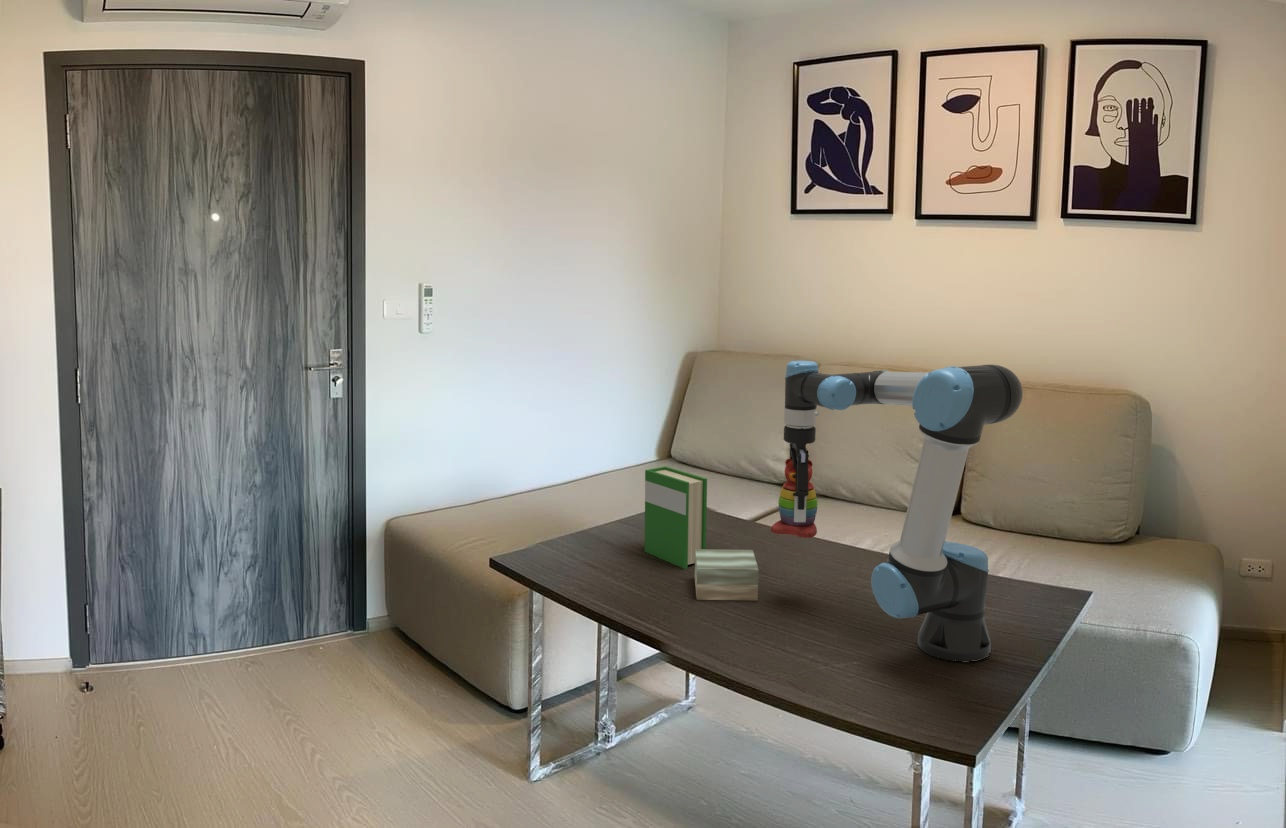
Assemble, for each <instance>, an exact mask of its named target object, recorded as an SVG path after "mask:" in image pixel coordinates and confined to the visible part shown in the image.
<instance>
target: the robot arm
mask: <svg viewBox="0 0 1286 828" xmlns="http://www.w3.org/2000/svg"><path fill="white" fill-rule="evenodd" d="M819 371H820V370H819V364H818V363H817V362H815V361H811V360H792V361H789V362H788V363H787V364H786V369H785V377H784V380H785V383H784V385H785V386H784V387H785V388H784V407H783V408H784V409H783V410H784V411H783V412H784V413H783V424H785V426H784V427H783V440H784V442H786V443H788V444H789V458H788V459H792V460H793V468H794V469H795V473H796V478H795V483H796V493H793V496H795V502H794V522H806V499H807V496H808V494H809V492H808V460H809V458H810V455H809V450H807V447H806V446H807V445H808V444H809V445H810V444H814V442H815V441H816V427H815V425H816V424H817V423H816V422H817V416H819V411H817V407H818V406H819V407H822V408H826V409H828V410H832V411H833V410H836V411H845V410H847V409H848V408H850V407H851V406H859V405H893V406H909V407H910V406H911V407H912V410H914V413H913V414H914V417H915V419H916V421H917V423H919V425H918V430H919V432H920V434H921V435H922V436H923V439H924V440H923V442H922V446H921V451H920V455H919V458H918V464H917V467H916V471H915V475H914V480H913V484H912V488H911V493H910V497H909V501H908V505H907V510H906V513H905V516H904V518H905V519H904V521H903V525H902V530H901V534H900V537H899V538H900V539H899V540H898V541H896V542H894V543H893V544H891V546H890V548H889V552H888V556H887V559H886V561H885V562H881V563H880V564H878V565H877V566H875V567H874V568H873V570H872V573H871V577H870V586H871V589H872V594H873V595H874V597H875V601H876V602H877V604H878V605H879V607H880V608H881V609H882V611H884V612H885V613H886V614H887V615H888V616H890V617H892V618H895V619H905V618H914V617H917V616H920V615H924V614H925V616H924V619H923V622H922V623H921V626H920V628H919V631H918V633H917V634H918V635H917V646H918V648H919V649H920V650H921V651H922V652H924V653H925V654H927V655H929V656H930V657H933V656H934V657H933V658H936V657H937V658H936V659H939V658H942V659H941V660H943V659H946V660H945V661H947V660H954V661H955V660H956V661H972V660H978V659H981V658H984V657H986V656H988V654H989V653H990V654H991V647H992V643H991V642H992V641H991V639H990V634H989V630H988V628H987V623H986V621H985V612H986V611H985V609H986V602H987V600H986V598H987V590H988V589H987V588H988V578H989V577H988V576H989V572H990V570H989V558H988V557H989V556H988V555H987V553H985V552H984V551H983V550H982V549H979V548H978V547H975V546H971V545H968V544H965V543H959V542H952V541H946V538H947V535H948V531H949V527H950V524H951V523H950V522H951V519H952V515H953V511H954V507H955V504H956V501H957V497H958V492H959V489H960V485H961V481H962V477H963V473H964V470H965V469H964V468H965V466H966V462H967V457H968V453H969V451H970V448H972V447H974V446H976V445H977V444H979V443H980V441H981V437H982V434H983V430H984V426H986V425H992V424H998V423H1001V422H1004V421H1006V420H1007V419H1010V418H1011V417H1012V416H1013V415H1014V414H1015V413H1016V412H1017V411H1018V409H1019V408H1020V406H1021V404H1022V401H1023V387H1022V383H1021V381H1020V379H1019V377H1018V376H1017V375H1016V373H1014V372H1013V371H1012V370H1010V369H1009V368H1007V367H1005V366H1001V365H998V364H981V365H970V366H969V365H968V366H946V367H943V368H938V369H934V370H932V371H930V372H924V371H923V372H920V371H913V372H912V371H888V370H873V371H865V372H863V371H862V372H850V373H849V372H848V373H836V374H828V373H822V372H819Z"/></svg>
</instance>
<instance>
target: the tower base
mask: <svg viewBox="0 0 1286 828" xmlns="http://www.w3.org/2000/svg"><path fill="white" fill-rule="evenodd" d="M759 573H760V571H759V566H758V563H757V560H756V556H755V553H754V550H753V549H708V548H706V549H695V563H694V586H695V587H694V588H695V597H696V600H697V601H705V600H706V601H716V600H717V601H758V600H759V599H758V598H759Z"/></svg>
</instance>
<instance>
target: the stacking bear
mask: <svg viewBox="0 0 1286 828" xmlns="http://www.w3.org/2000/svg"><path fill="white" fill-rule="evenodd" d="M784 463H785V467H784V476H785V480H786V482H785V483H783V485H782V487H781V488H780V489H781V490H780V493H779V498H778V512H779V517H780V518H779V519H780V520H778V521H776V522H775V523H774V524H772V526H771V528H770V532H772V533H773V534H775V535H776V534H777V535H791V536H796V537H799V538H804V539H811V538H814V537H815V536H817V533H818V529H817V525H816V524H815V521H816V516H817V511H818V498H817V494H816V493H817V492H816V490H815V487H814V485H813V483H812V482H810V481H811V479H812V476H813V468H812V467H813V462H812V460H810V459H808V492H809V494H808V496H807V499H806V522H794V502H795V496H793V493H796V483H795V478H796V473H795V469H794V468H793V460H792V459H789V458H787V459H786V460H785V462H784Z"/></svg>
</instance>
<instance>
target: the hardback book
mask: <svg viewBox="0 0 1286 828" xmlns="http://www.w3.org/2000/svg"><path fill="white" fill-rule="evenodd" d="M644 475H645V476H644V477H645V478H644V482H645V483H644V553H646V552H647V553H646V554H648V553H649V554H648V555H650V554H651V556H653V555H654V556H653V557H655V556H656V557H655V558H657V557H658V559H659V560H662V559H663V560H662V561H666V562H667V563H669V562H670V564H672V565H674V566H678V567H680V568H681V569H684V570H685V569H688V565H691V564H692V565H693V564H695V549H707V545H706V544H707V512H708V511H707V507H708V506H707V505H708V504H707V503H708V501H707V500H708V495H707V494H708V478H707V477H703V476H700V475H696V474H692V473H689V472H686V471H682V470H679V469H675V468H672V467H669V466H660V467H656V468H649V469H645V472H644Z"/></svg>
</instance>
